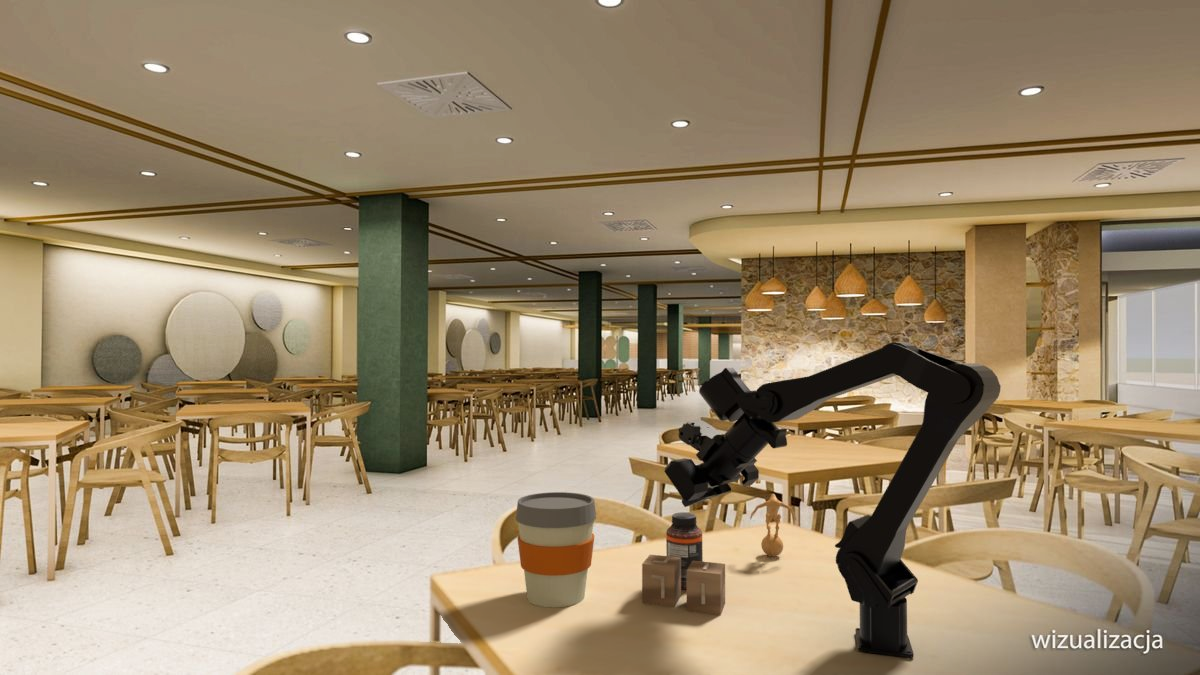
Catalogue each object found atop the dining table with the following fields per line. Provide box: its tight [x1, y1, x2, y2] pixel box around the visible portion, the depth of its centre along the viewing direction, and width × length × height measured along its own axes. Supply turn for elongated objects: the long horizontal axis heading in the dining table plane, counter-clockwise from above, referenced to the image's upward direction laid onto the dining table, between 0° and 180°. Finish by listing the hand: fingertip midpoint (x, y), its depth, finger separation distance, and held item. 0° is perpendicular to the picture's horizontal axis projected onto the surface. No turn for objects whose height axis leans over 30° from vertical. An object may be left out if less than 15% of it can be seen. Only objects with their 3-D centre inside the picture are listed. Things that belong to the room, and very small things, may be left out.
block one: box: [686, 561, 726, 616], centre depth 100 cm, size 5×5×6 cm
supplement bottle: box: [665, 511, 704, 590], centre depth 110 cm, size 6×6×11 cm
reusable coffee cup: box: [515, 491, 597, 608], centre depth 104 cm, size 13×13×15 cm
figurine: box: [749, 493, 797, 557], centre depth 124 cm, size 8×6×12 cm
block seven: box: [641, 554, 682, 608], centre depth 103 cm, size 5×5×6 cm
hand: (684, 504), depth 110 cm, fingers closed
